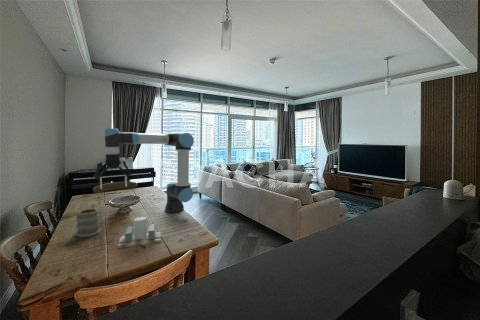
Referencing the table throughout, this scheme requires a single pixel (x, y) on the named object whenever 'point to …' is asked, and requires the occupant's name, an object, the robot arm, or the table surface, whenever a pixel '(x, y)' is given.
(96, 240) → the table surface
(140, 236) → the block
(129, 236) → the mounted modules
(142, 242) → the mounting board
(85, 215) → the tankard
